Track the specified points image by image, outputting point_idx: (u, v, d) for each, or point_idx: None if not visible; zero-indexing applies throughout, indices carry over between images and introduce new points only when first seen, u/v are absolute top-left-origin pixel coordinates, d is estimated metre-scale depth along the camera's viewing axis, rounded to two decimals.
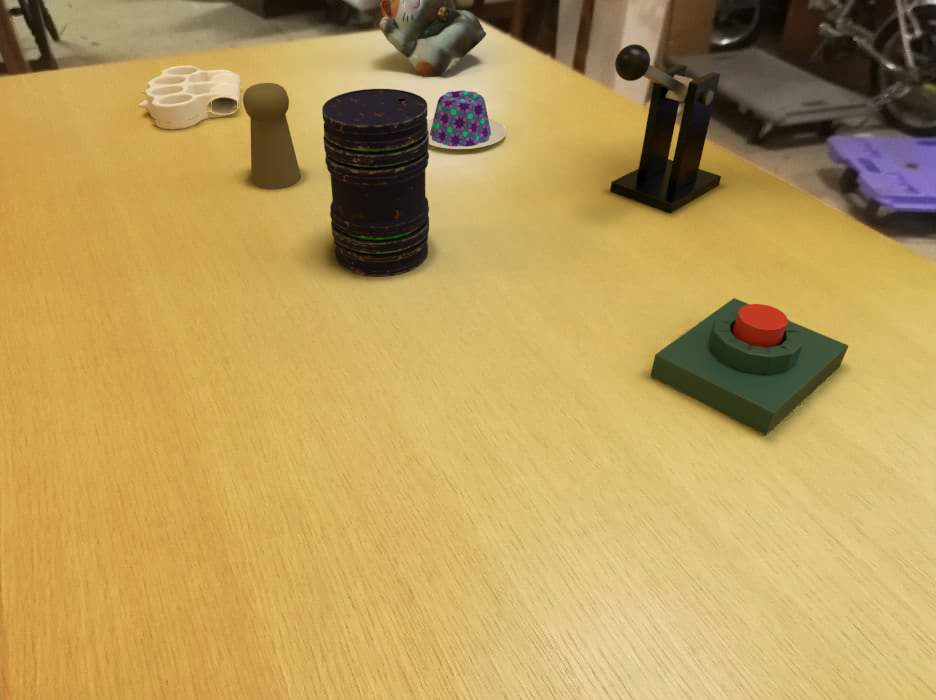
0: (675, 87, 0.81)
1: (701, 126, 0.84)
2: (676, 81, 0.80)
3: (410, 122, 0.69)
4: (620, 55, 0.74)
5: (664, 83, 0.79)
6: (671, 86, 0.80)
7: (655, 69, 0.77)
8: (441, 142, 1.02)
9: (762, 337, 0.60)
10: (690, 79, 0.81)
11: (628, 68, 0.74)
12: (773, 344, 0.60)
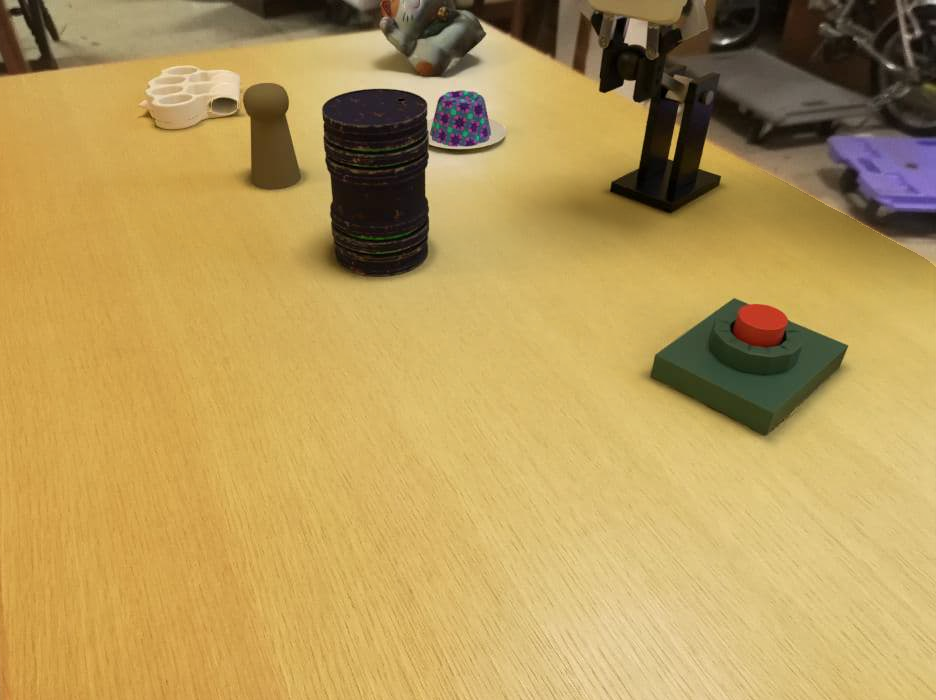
0: (675, 87, 0.81)
1: (701, 126, 0.84)
2: (676, 81, 0.80)
3: (410, 122, 0.69)
4: (620, 55, 0.74)
5: (664, 83, 0.79)
6: (671, 86, 0.80)
7: None
8: (441, 142, 1.02)
9: (762, 337, 0.60)
10: (690, 79, 0.81)
11: (628, 68, 0.74)
12: (773, 344, 0.60)
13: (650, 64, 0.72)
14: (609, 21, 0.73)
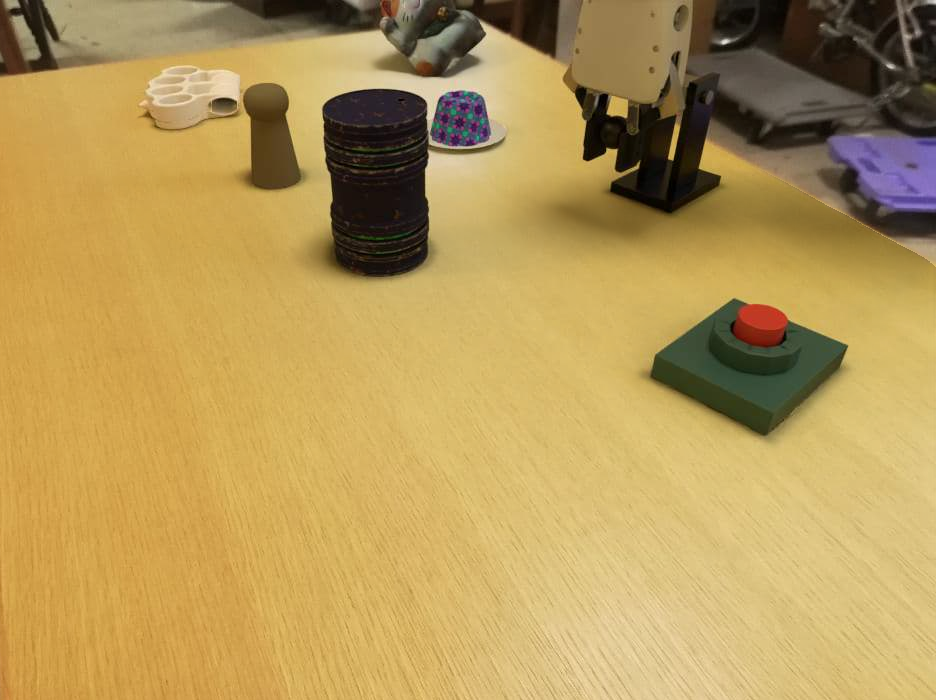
0: None
1: (701, 126, 0.84)
2: None
3: (410, 122, 0.69)
4: (600, 134, 0.78)
5: None
6: None
7: None
8: (441, 142, 1.02)
9: (762, 337, 0.60)
10: (685, 87, 0.81)
11: (611, 145, 0.78)
12: (773, 344, 0.60)
13: (631, 138, 0.76)
14: (592, 96, 0.77)
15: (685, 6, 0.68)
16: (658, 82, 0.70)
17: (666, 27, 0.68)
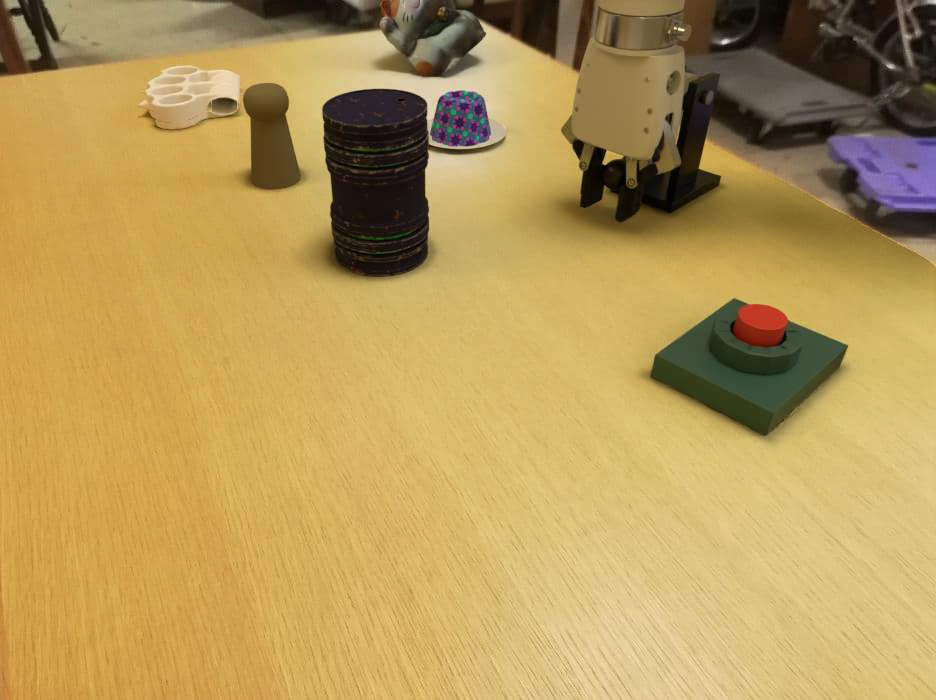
0: None
1: (701, 126, 0.84)
2: None
3: (410, 122, 0.69)
4: (603, 182, 0.82)
5: None
6: None
7: None
8: (441, 142, 1.02)
9: (762, 337, 0.60)
10: None
11: (615, 190, 0.82)
12: (773, 344, 0.60)
13: (630, 191, 0.80)
14: (588, 149, 0.81)
15: (677, 72, 0.72)
16: (652, 141, 0.75)
17: (659, 92, 0.72)
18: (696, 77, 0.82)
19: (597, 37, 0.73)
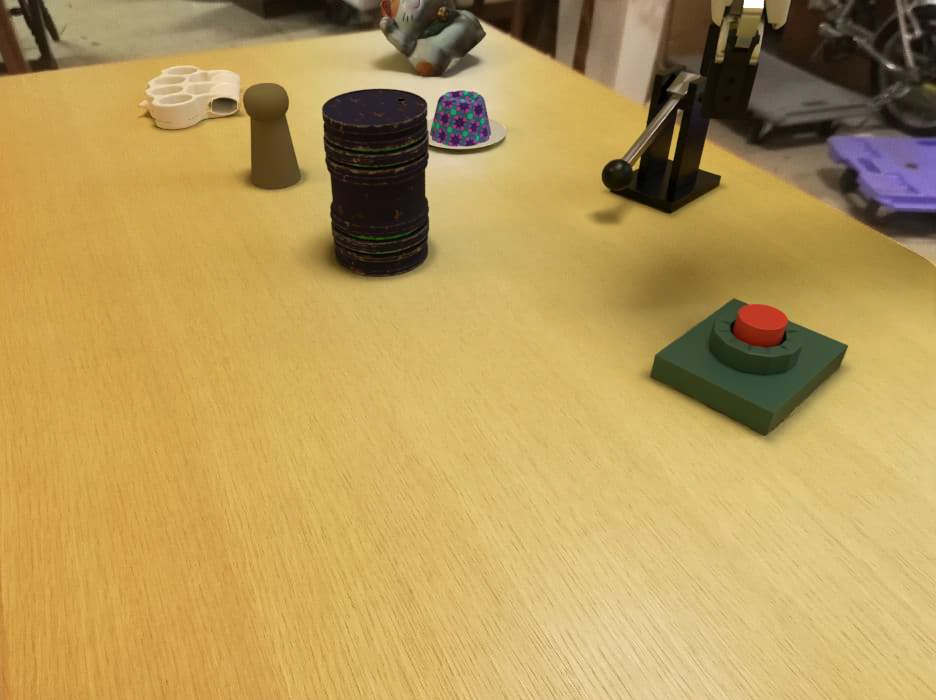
0: (671, 116, 0.83)
1: (701, 126, 0.84)
2: (669, 114, 0.82)
3: (410, 122, 0.69)
4: (603, 182, 0.82)
5: (657, 134, 0.83)
6: (666, 122, 0.83)
7: (641, 149, 0.82)
8: (441, 142, 1.02)
9: (762, 337, 0.60)
10: (682, 95, 0.82)
11: (615, 190, 0.82)
12: (773, 344, 0.60)
13: (720, 71, 0.56)
14: None
15: None
16: None
17: None
18: (696, 77, 0.82)
19: None
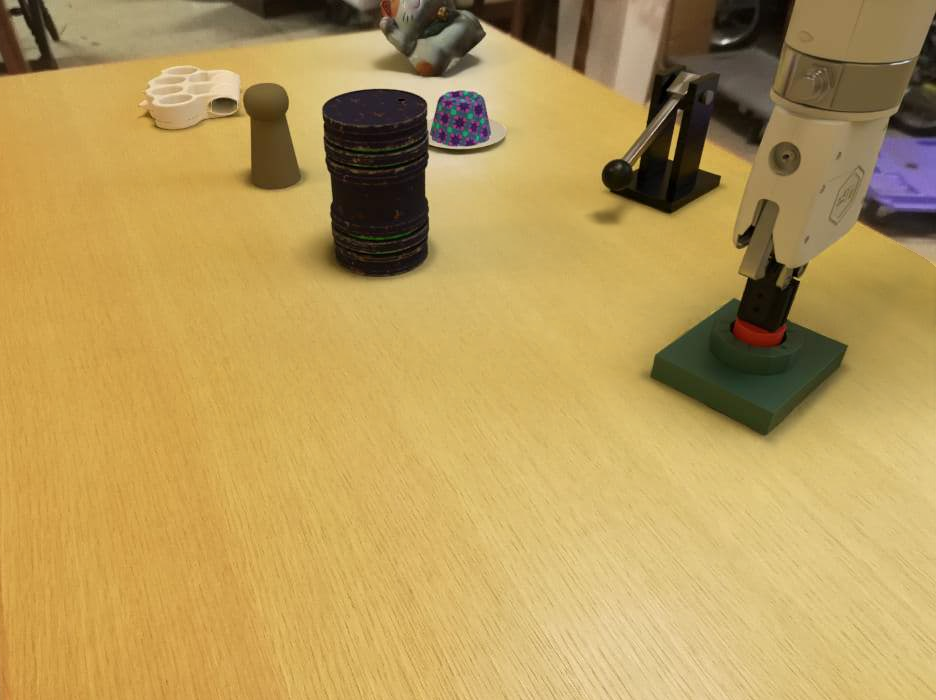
0: (671, 116, 0.83)
1: (701, 126, 0.84)
2: (669, 114, 0.82)
3: (410, 122, 0.69)
4: (603, 182, 0.82)
5: (657, 134, 0.83)
6: (666, 122, 0.83)
7: (641, 149, 0.82)
8: (441, 142, 1.02)
9: (760, 342, 0.60)
10: (682, 95, 0.82)
11: (615, 190, 0.82)
12: None
13: None
14: None
15: (800, 149, 0.48)
16: (736, 222, 0.53)
17: (758, 157, 0.51)
18: (696, 77, 0.82)
19: None
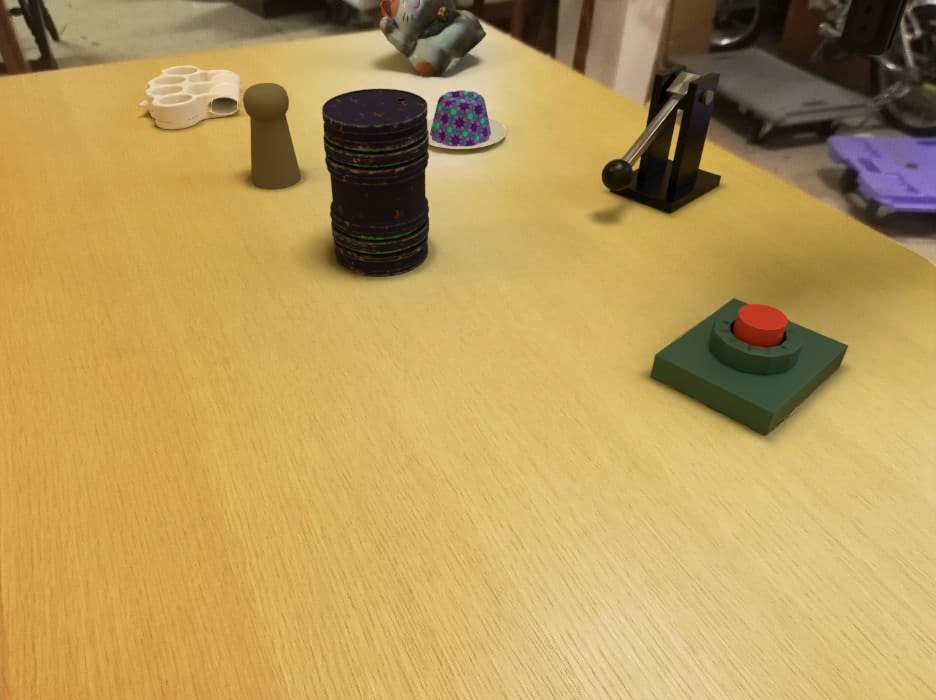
0: (671, 116, 0.83)
1: (701, 126, 0.84)
2: (669, 114, 0.82)
3: (410, 122, 0.69)
4: (603, 182, 0.82)
5: (657, 134, 0.83)
6: (666, 122, 0.83)
7: (641, 149, 0.82)
8: (441, 142, 1.02)
9: (762, 337, 0.60)
10: (682, 95, 0.82)
11: (615, 190, 0.82)
12: (773, 344, 0.60)
13: None
14: None
15: None
16: None
17: None
18: (696, 77, 0.82)
19: None
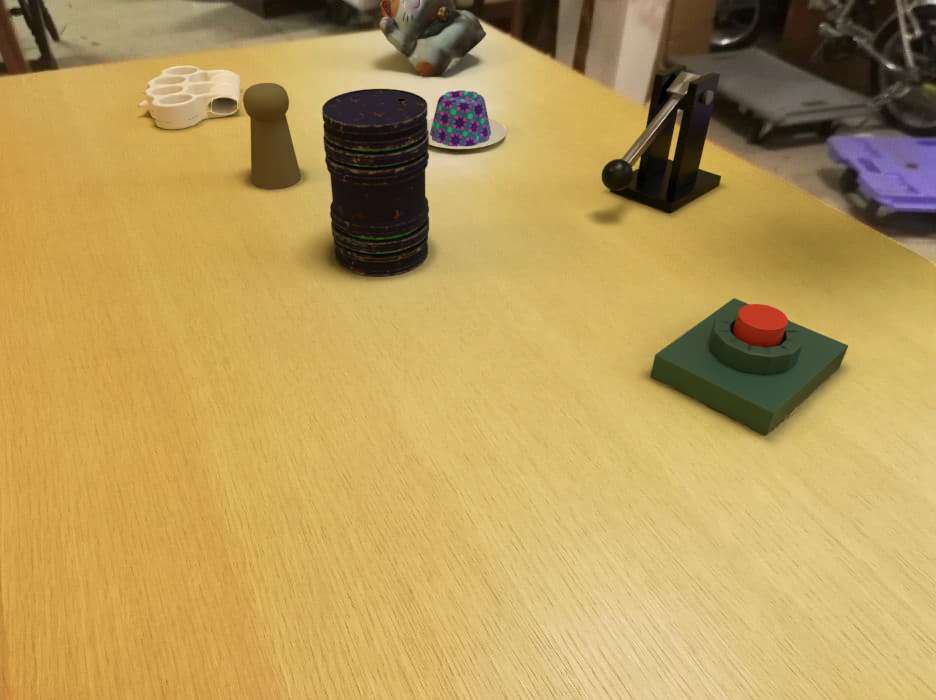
0: (671, 116, 0.83)
1: (701, 126, 0.84)
2: (669, 114, 0.82)
3: (410, 122, 0.69)
4: (603, 182, 0.82)
5: (657, 134, 0.83)
6: (666, 122, 0.83)
7: (641, 149, 0.82)
8: (441, 142, 1.02)
9: (762, 337, 0.60)
10: (682, 95, 0.82)
11: (615, 190, 0.82)
12: (773, 344, 0.60)
13: None
14: None
15: None
16: None
17: None
18: (696, 77, 0.82)
19: None
